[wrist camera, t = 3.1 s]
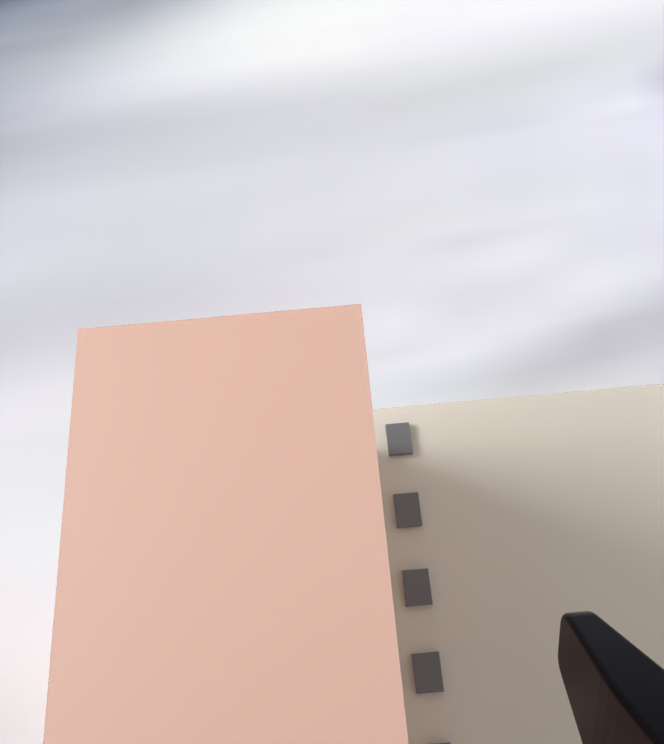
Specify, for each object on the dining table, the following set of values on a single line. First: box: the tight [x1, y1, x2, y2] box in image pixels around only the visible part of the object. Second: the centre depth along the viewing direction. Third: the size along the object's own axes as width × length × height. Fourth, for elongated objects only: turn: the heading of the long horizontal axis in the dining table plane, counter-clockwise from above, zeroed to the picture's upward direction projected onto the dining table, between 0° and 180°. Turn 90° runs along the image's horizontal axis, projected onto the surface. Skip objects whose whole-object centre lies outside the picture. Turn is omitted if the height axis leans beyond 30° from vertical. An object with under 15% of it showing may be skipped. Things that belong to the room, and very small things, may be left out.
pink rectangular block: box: [43, 304, 408, 744], centre depth 12 cm, size 8×4×10 cm, turn 5°
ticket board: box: [372, 384, 664, 744], centre depth 16 cm, size 9×8×3 cm
